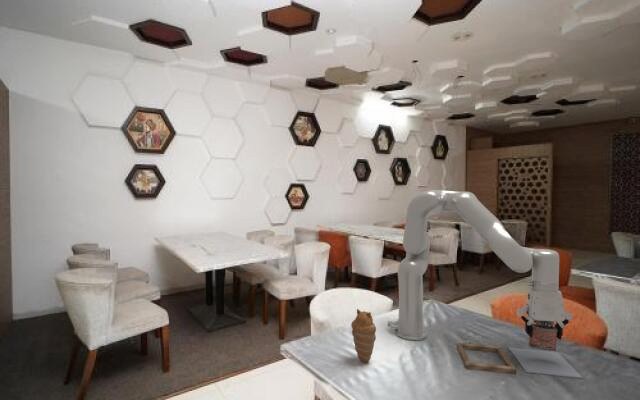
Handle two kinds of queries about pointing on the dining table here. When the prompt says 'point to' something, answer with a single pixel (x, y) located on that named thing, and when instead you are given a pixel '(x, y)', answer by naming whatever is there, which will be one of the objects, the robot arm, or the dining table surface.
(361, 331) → the cat ice cream
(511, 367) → the picture frame
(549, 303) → the robot arm
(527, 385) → the dining table surface
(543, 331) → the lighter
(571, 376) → the pad
